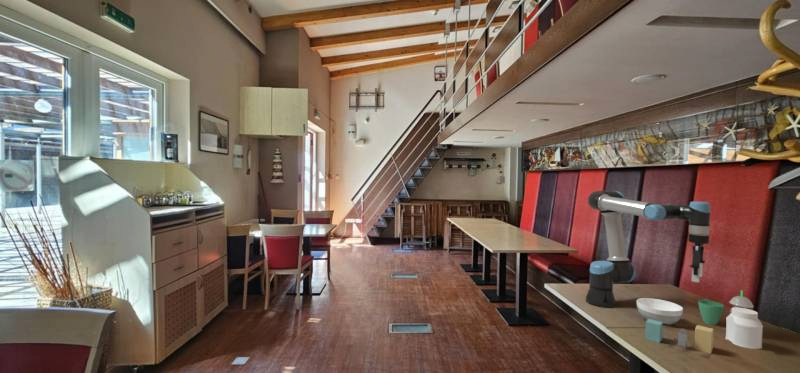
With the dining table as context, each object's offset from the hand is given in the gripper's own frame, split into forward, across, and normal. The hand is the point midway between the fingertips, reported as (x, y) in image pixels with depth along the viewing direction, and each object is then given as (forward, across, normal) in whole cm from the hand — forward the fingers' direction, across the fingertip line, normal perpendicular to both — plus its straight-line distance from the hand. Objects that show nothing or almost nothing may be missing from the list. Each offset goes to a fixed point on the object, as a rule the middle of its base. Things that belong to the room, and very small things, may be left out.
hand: (697, 279), depth 172 cm
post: (+23, -31, +1) cm, 39 cm away
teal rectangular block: (+24, -30, +11) cm, 40 cm away
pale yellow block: (+23, -27, -5) cm, 36 cm away
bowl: (+24, -1, +14) cm, 28 cm away
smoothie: (+24, +10, -16) cm, 31 cm away
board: (+24, -29, -1) cm, 38 cm away
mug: (+24, +18, -4) cm, 30 cm away
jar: (+24, -6, -17) cm, 30 cm away
